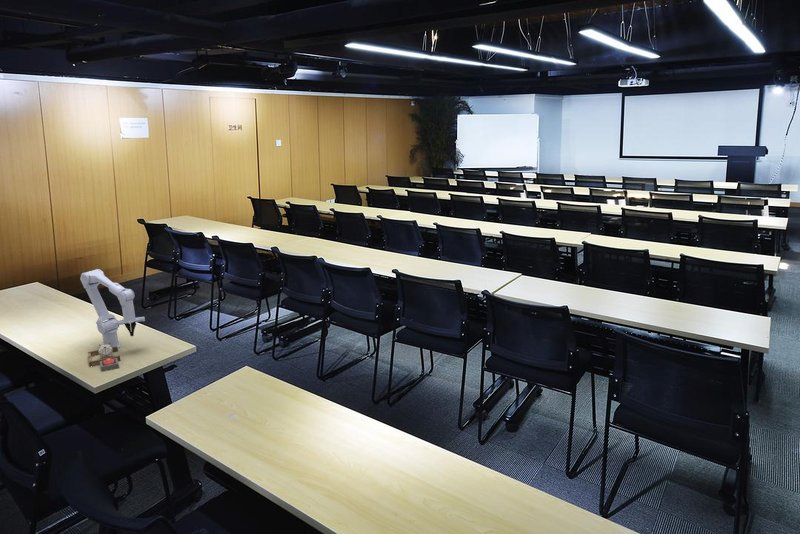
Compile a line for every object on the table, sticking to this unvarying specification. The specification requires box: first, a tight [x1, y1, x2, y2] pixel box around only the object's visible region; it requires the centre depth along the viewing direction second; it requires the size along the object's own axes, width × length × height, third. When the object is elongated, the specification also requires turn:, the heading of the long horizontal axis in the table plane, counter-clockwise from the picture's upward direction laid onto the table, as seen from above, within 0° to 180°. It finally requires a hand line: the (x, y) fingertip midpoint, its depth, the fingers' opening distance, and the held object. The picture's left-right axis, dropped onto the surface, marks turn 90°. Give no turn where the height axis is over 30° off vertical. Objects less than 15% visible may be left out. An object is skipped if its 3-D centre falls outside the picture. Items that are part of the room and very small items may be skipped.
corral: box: [87, 346, 122, 368], centre depth 289 cm, size 15×14×2 cm
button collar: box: [99, 358, 120, 372], centre depth 280 cm, size 8×8×2 cm
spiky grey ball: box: [97, 343, 114, 359], centre depth 289 cm, size 9×8×10 cm
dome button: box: [103, 358, 115, 366], centre depth 279 cm, size 5×5×4 cm
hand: (132, 335), depth 295 cm, fingers closed
